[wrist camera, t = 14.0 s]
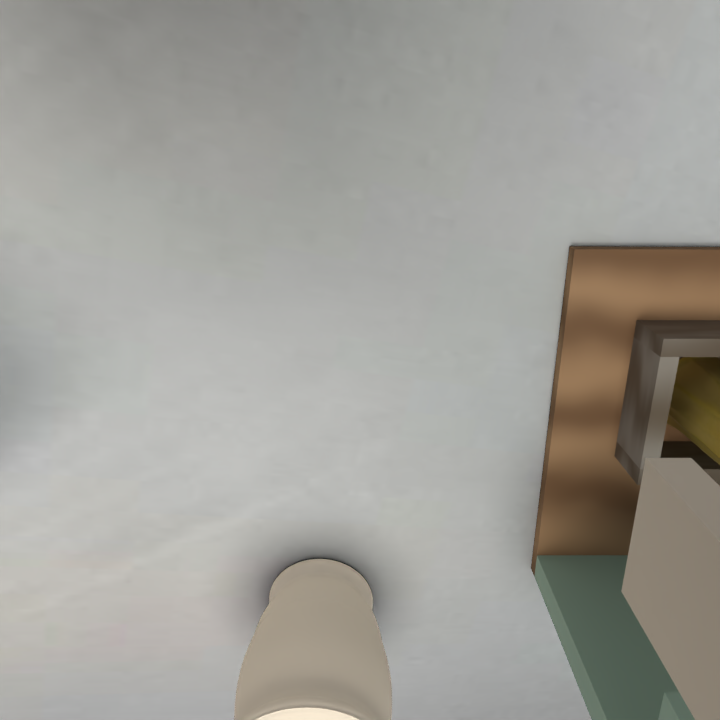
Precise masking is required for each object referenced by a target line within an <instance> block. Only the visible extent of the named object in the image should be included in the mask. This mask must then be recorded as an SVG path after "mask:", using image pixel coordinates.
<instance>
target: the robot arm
mask: <svg viewBox="0 0 720 720" xmlns="http://www.w3.org/2000/svg"><path fill="white" fill-rule="evenodd" d="M621 592H622V593H623V595H624V597H625V599H626V600H627V602H628V604H629V606H630V607H631V609H632V611H633V613H634V614H635V616H636V618H637V620H638V621H639V623H640V625H641V627H642V628H643V630H644V632H645V634H646V635H647V637H648V639H649V640H650V642H651V644H652V646H653V647H654V649H655V651H656V653H657V654H658V656H659V658H660V660H661V661H662V663H663V665H664V667H665V668H666V670H667V672H668V674H669V675H670V677H671V679H672V681H673V682H674V684H675V686H676V687H677V689H678V691H679V693H680V694H681V696H682V698H683V700H684V701H685V703H686V705H687V707H688V708H689V710H690V712H691V714H692V715H693V717H694V719H695V720H720V486H719V485H718V484H717V483H716V482H715V481H714V480H713V479H712V478H711V477H710V476H709V475H708V474H707V473H706V472H705V471H704V470H703V469H702V468H701V467H700V466H699V465H698V464H697V463H696V462H695V461H694V460H693V459H692V458H646V459H645V465H644V470H643V476H642V481H641V486H640V492H639V497H638V503H637V508H636V514H635V519H634V525H633V530H632V536H631V541H630V547H629V552H628V557H627V563H626V568H625V574H624V579H623V585H622V590H621Z"/></svg>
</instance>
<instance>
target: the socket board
mask: <svg viewBox="0 0 720 720" xmlns="http://www.w3.org/2000/svg"><path fill="white" fill-rule="evenodd" d="M683 357H720V247H590V246H570V248H569V257H568V265H567V273H566V282H565V290H564V298H563V307H562V315H561V323H560V332H559V340H558V348H557V357H556V365H555V373H554V382H553V390H552V398H551V407H550V415H549V423H548V432H547V440H546V448H545V457H544V465H543V473H542V482H541V490H540V498H539V507H538V515H537V523H536V532H535V540H534V548H533V557H532V565H531V569H532V571H533V574H534V576H535V568H536V560H537V555H628V552H629V547H630V541H631V536H632V530H633V525H634V519H635V514H636V508H637V503H638V497H639V492H640V486H641V481H642V476H643V470H644V465H645V459H646V458H692V459H693V460H694V461H695V462H696V463H697V464H698V465H699V466H700V467H701V468H702V469H703V470H704V471H705V472H706V473H707V474H708V475H709V476H710V477H711V478H712V479H713V480H714V481H715V482H716V483H717V484H718V485H719V486H720V465H719V464H718V463H717V462H715V461H714V460H713V459H712V458H710V457H709V456H708V455H707V454H706V453H705V452H703V451H702V450H701V449H700V448H699V447H698V446H697V445H696V444H694V443H693V442H692V441H691V440H690V439H689V438H687V437H686V436H685V435H684V434H682V433H681V432H680V431H679V430H677V429H676V428H674V427H672V426H670V425H669V424H667V420H668V414H669V409H670V404H671V399H672V394H673V388H674V383H675V378H676V373H677V368H678V362H679V359H681V358H683Z"/></svg>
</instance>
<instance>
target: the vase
mask: <svg viewBox="0 0 720 720" xmlns="http://www.w3.org/2000/svg"><path fill="white" fill-rule="evenodd" d="M667 424H669V425H670V426H672V427H674V428H676V429H677V430H679V431H680V432H681V433H682V434H684V435H685V436H686V437H687V438H689V439H690V440H691V441H692V442H693V443H694V444H696V445H697V446H698V447H699V448H700V449H701V450H702V451H703V452H705V453H706V454H707V455H708V456H709V457H710V458H712V459H713V460H714V461H715V462H717V463H718V464H719V465H720V357H683V358H681V359H679V362H678V368H677V373H676V378H675V383H674V388H673V394H672V399H671V404H670V409H669V414H668V420H667Z"/></svg>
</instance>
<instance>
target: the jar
mask: <svg viewBox="0 0 720 720" xmlns="http://www.w3.org/2000/svg"><path fill="white" fill-rule="evenodd" d="M372 609H373V596H372V592H371V589H370V587H369V585H368V583H367V582H366V580H365V579H364V578H363V577H362V576H361V575H360V574H359V573H358V572H357V571H356V570H354V569H353V568H351V567H350V566H348V565H345V564H343V563H341V562H337V561H333V560H328V559H311V560H305V561H301V562H298V563H296V564H294V565H292V566H290V567H288V568H287V569H285V570H284V571H283V572H282V573H281V574H280V575H279V576H278V577H277V578H276V580H275V581H274V583H273V585H272V587H271V590H270V594H269V605H268V606H267V608H266V609H265V611H264V613H263V614H262V616H261V618H260V620H259V623H258V625H257V628H256V630H255V633H254V636H253V638H252V640H251V642H250V644H249V647H248V649H247V652H246V654H245V657H244V660H243V663H242V667H241V670H240V674H239V679H238V684H237V691H236V699H235V715H234V720H391V715H392V687H391V677H390V671H389V665H388V661H387V656H386V653H385V649H384V646H383V643H382V638H381V634H380V630H379V627H378V624H377V621H376V618H375V616H374V614H373V612H372Z"/></svg>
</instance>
